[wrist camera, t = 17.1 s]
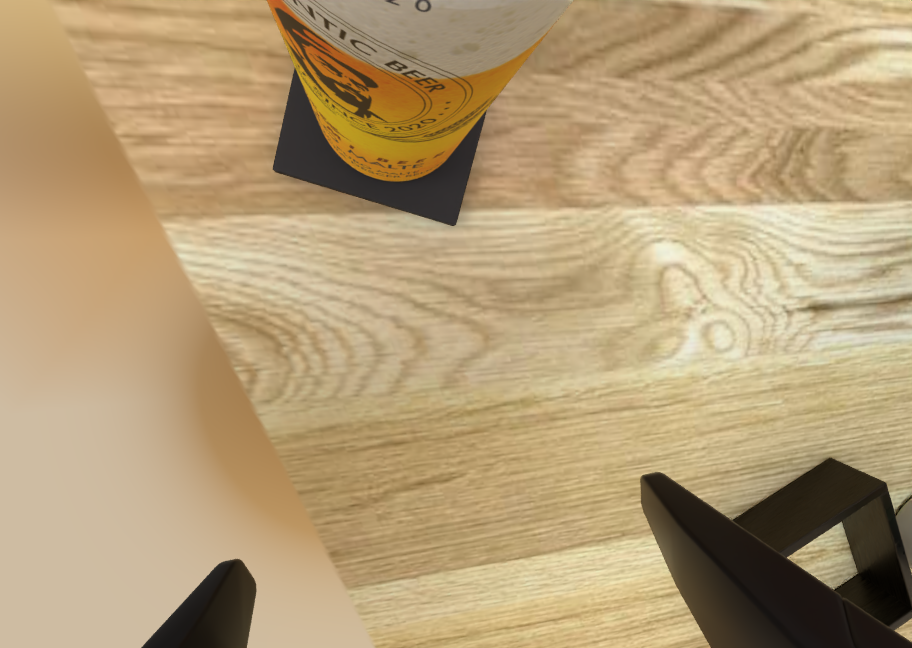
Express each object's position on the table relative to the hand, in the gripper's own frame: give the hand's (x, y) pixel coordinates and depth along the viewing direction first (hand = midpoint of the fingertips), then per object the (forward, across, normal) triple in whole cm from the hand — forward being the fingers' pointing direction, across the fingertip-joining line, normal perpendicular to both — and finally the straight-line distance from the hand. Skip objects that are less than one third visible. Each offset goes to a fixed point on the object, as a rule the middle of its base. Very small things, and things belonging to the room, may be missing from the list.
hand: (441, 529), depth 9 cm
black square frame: (+10, -18, +22) cm, 30 cm away
